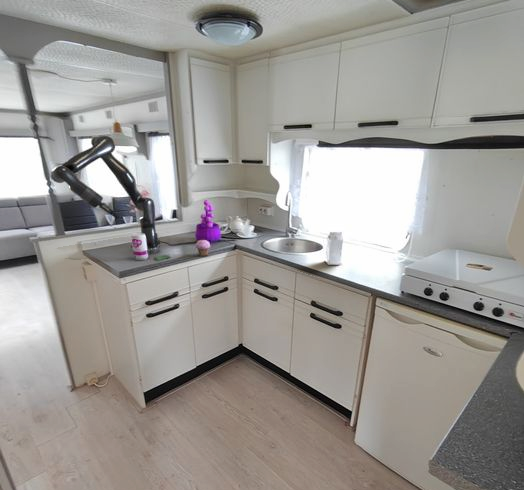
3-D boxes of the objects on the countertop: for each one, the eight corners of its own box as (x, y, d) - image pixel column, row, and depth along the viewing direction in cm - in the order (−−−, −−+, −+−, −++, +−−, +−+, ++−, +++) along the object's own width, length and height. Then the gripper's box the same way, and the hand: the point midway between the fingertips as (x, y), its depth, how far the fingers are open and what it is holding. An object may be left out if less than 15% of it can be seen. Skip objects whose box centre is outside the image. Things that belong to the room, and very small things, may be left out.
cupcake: (200, 258, 201) (199, 242, 197) (194, 254, 207) (193, 239, 204) (212, 255, 206) (212, 240, 202) (206, 252, 212) (205, 237, 208)
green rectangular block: (166, 256, 203) (165, 254, 202) (169, 257, 201) (168, 255, 200) (154, 259, 198) (154, 257, 197) (157, 260, 195) (157, 258, 195)
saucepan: (162, 250, 216) (161, 244, 214) (153, 254, 206) (152, 249, 204) (136, 248, 220) (135, 242, 219) (126, 252, 210) (125, 246, 209)
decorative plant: (202, 237, 249) (200, 197, 237) (225, 239, 244) (223, 198, 233) (191, 243, 232) (187, 201, 220) (215, 246, 227) (213, 202, 216)
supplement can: (144, 260, 194) (140, 236, 189) (131, 259, 196) (128, 235, 190) (151, 257, 202) (148, 233, 196) (138, 256, 203) (135, 232, 197)
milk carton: (325, 261, 199) (328, 230, 192) (336, 261, 199) (339, 230, 192) (328, 265, 192) (331, 233, 185) (340, 264, 193) (343, 233, 186)
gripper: (97, 192, 168) (125, 214, 179) (92, 190, 178) (119, 211, 189) (88, 203, 167) (117, 225, 178) (83, 200, 177) (111, 221, 188)
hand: (118, 217), depth 184 cm, fingers closed
